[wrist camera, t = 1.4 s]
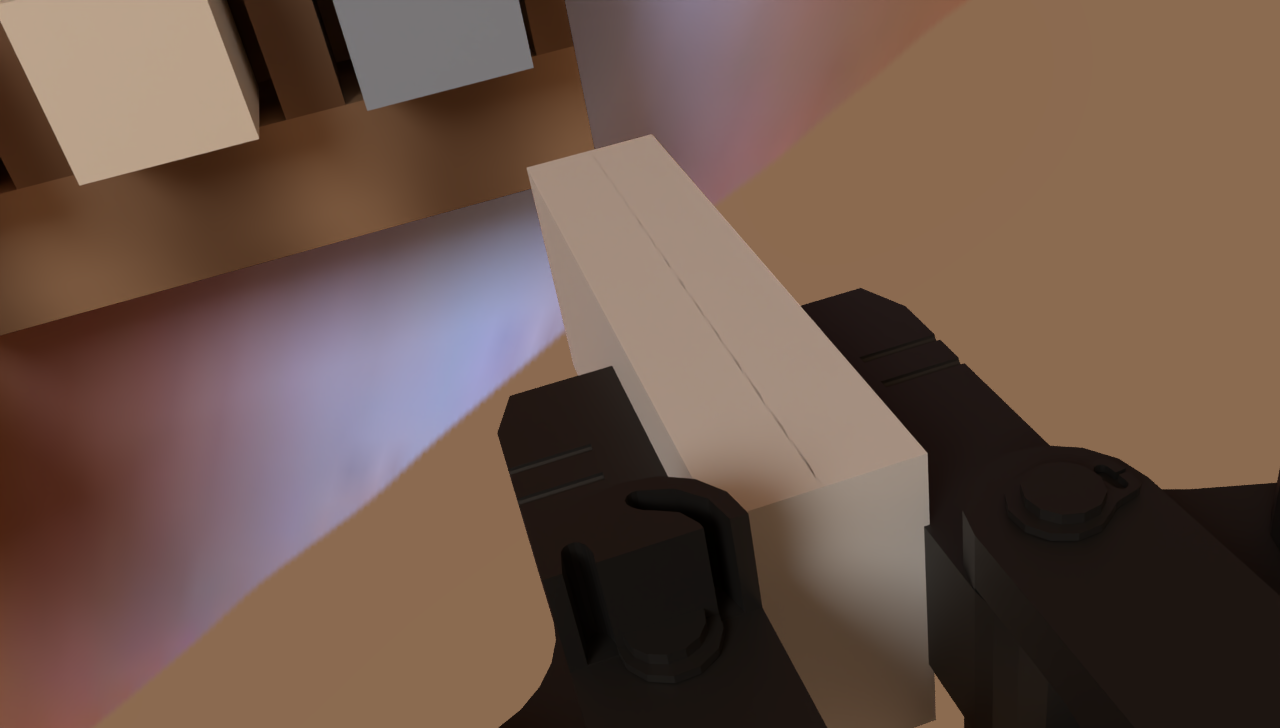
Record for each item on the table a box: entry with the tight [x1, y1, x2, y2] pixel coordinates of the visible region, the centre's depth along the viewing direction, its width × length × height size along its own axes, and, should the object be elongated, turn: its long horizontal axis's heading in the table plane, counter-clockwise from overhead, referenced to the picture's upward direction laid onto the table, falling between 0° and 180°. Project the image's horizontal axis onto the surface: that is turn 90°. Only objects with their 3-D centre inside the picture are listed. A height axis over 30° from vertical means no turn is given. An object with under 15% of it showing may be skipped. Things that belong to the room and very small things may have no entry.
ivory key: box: [0, 0, 259, 186], centre depth 26 cm, size 4×4×4 cm
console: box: [0, 0, 594, 335], centre depth 28 cm, size 20×12×5 cm, turn 100°
